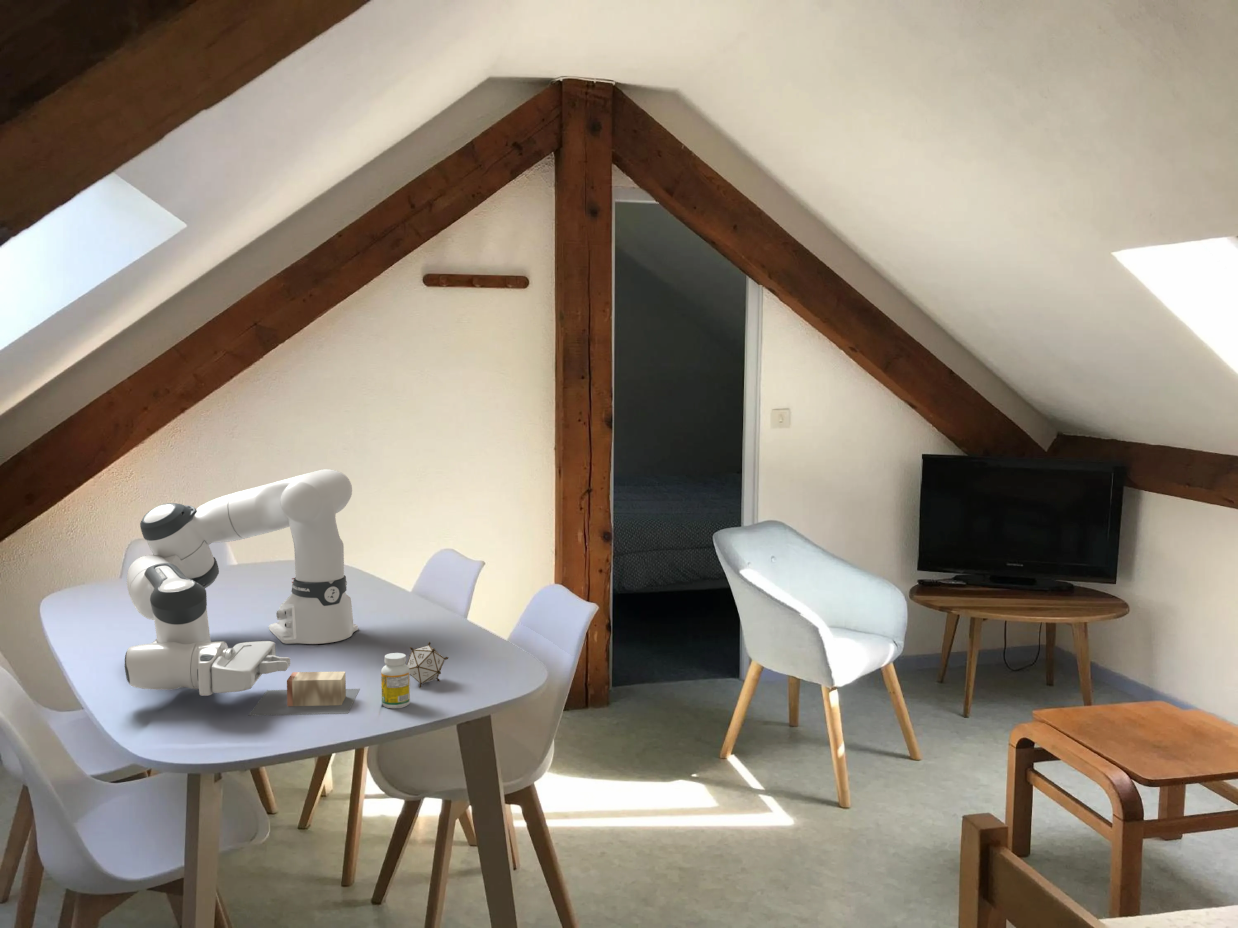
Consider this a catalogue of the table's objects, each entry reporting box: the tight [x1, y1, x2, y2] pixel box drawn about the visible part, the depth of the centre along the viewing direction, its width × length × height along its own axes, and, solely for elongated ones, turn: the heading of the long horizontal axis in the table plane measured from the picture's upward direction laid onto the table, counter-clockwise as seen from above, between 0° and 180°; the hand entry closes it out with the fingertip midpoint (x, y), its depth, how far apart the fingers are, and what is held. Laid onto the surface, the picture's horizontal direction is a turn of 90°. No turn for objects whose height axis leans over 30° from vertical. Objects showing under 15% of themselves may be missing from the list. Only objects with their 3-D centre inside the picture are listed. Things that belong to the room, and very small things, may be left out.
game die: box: [406, 641, 449, 689], centre depth 213 cm, size 9×8×10 cm
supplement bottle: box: [380, 652, 411, 709], centre depth 200 cm, size 5×5×10 cm
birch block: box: [286, 671, 347, 706], centre depth 200 cm, size 5×5×10 cm
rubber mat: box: [248, 688, 361, 717], centre depth 200 cm, size 18×14×1 cm
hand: (288, 663), depth 199 cm, fingers closed
